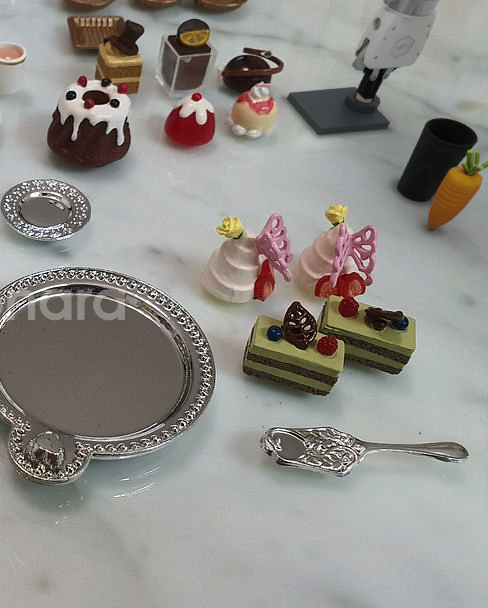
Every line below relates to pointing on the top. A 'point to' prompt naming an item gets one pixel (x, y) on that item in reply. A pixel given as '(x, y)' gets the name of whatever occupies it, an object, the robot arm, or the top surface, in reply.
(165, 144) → the top surface
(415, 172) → the cup
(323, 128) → the scale
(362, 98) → the button
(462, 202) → the carrot
